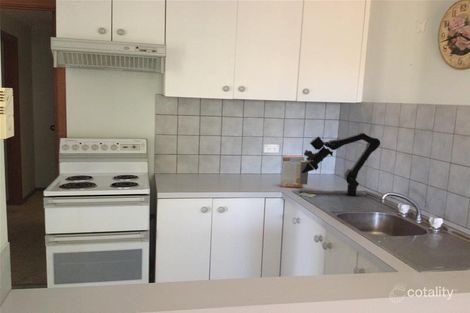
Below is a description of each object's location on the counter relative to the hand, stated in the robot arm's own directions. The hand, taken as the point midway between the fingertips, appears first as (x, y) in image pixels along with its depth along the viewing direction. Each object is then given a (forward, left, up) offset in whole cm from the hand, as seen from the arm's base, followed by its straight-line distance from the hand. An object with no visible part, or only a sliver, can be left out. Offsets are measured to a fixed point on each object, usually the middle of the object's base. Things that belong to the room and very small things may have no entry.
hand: (301, 171), depth 264 cm
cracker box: (-11, -11, -13) cm, 20 cm away
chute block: (-1, +1, -7) cm, 8 cm away
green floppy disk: (+7, +7, -13) cm, 16 cm away
